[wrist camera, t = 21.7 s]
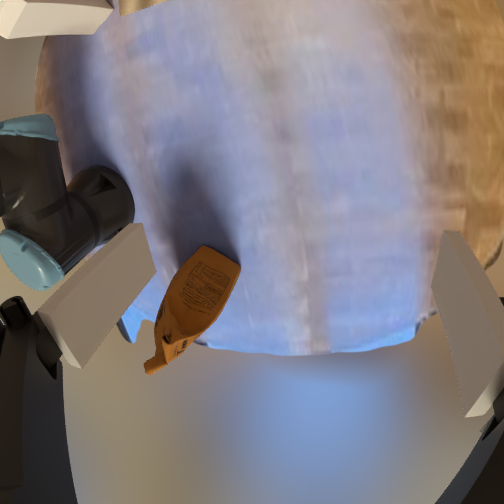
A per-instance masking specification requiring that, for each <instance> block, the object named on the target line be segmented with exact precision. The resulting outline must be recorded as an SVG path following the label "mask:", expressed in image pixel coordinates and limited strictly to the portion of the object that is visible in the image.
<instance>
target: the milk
mask: <svg viewBox="0 0 504 504" xmlns="http://www.w3.org/2000/svg"><path fill="white" fill-rule="evenodd" d="M113 10H114V9H113V8H112V7H111V6H110V5H109V4H108V3H107V2H106V1H105V0H0V35H1V36H2V37H4V38H6V39H11V38H20V37H30V36H44V35H71V34H87V35H93V34H94V33H95V32H96V31H97V29H98V28H99V27H100V26H101V24H102V23H103V22H104V21H105V19H106V18H107V17H108V16H109V15H110V13H111V12H112V11H113Z"/></svg>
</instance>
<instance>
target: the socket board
mask: <svg viewBox="0 0 504 504" xmlns="http://www.w3.org/2000/svg"><path fill="white" fill-rule="evenodd" d="M165 1H168V0H119V10H120V15H121V16H125V15H128V14H130V13H133V12H136V11H138V10H141V9H144V8H147V7H150V6H153V5H156V4H159V3H162V2H165Z"/></svg>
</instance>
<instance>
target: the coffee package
mask: <svg viewBox="0 0 504 504" xmlns="http://www.w3.org/2000/svg"><path fill="white" fill-rule="evenodd" d="M240 271H241V268H240V266H239V265H238V264H236V263H234V262H233V261H231V260H230V259H228V258H227V257H225V256H223V255H222V254H220V253H218V252H217V251H216V250H214V249H212V248H209V247H206V246H204V245H203V246H201V247H200V248H199V249H198V250H197V251H196V252H195V253H194V254H193V255H192V256H191V258H189V259H188V260H187V261H186V262H185V263H184V264H183V265H182V266H181V267H180V269H179V270H178V271H177V273H176V274H175V276H174V277H173V279H172V281H171V283H170V285H169V287H168V289H167V291H166V294H165V296H164V298H163V301H162V303H161V305H160V308H159V311H158V314H157V318H156V322H155V328H154V336H155V344H156V353H155V356H154V357H152V358H151V359H149V360H147V361H146V362H145V363H144V368H145V373H146V374H148V375H151V374H153V373H154V372H156V371H157V370H159V369H161V368H163V367H164V366H166V365H167V364H168V363H169V362H170V361H172V360H174V359H175V358H177V357H178V356H179V355H180V354H182V353H183V352H184V350H185V349H186V348H187V346H189V345H190V344H191V343H192V342H193V341H194V340H195V339H197V338H198V337H199V336H200V335H201V334H202V333H203V332H204V331H205V330H206V329H207V328H209V327H210V326H211V325H212V324H213V323H214V322H215V321H216V319H217V318H218V316H219V315H220V313H221V312H222V310H223V308H224V306H225V304H226V302H227V300H228V298H229V296H230V294H231V292H232V290H233V288H234V286H235V284H236V282H237V280H238V277H239V274H240Z"/></svg>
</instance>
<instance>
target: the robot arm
mask: <svg viewBox="0 0 504 504" xmlns="http://www.w3.org/2000/svg"><path fill="white" fill-rule="evenodd" d="M58 142H59V139H58V138H57V136H56V131H55V126H54V121H53V119H52V118H51V117H50V116H49V115H47V114H36V115H29V116H23V117H18V118H13V119H9V120H5V121H2V122H0V217H2V220H3V223H4V226H5V229H4V230H2V231H1V233H0V253H1V256H2V258H3V259H4V261H5V263H6V265H7V266H8V267H9V269H10V270H11V271H12V272H13V274H14V275H15V276H16V277H17V278H18V279H19V280H20V281H21V282H23V283H24V284H25V285H27V286H28V287H30V288H32V289H34V290H38V291H46V290H48V289H50V288H51V287H52V286H53V285H55V284H56V283H57V282H59V281H60V280H62V279H63V278H64V276H65V275H66V274H67V273H68V272H69V271H70V270H71V269H72V268H73V267H74V266H76V265H77V264H78V263H79V262H80V261H81V260H82V259H83V258H84V257H85V256H86V255H87V254H88V253H90V252H91V251H92V250H93V249H94V248H95V247H97V246H100V245H103V244H105V245H104V246H103V247H102V248H101V249H100V250H99V251H98V252H97V253H96V254H94V255H93V256H92V257H91V258H90V259H89V260H88V261H87V262H86V263H85V264H84V265H83V266H82V267H81V268H79V269H78V270H77V271H76V272H75V273H74V274H73V275H72V276H71V277H70V278H69V279H68V280H67V281H66V282H65V283H64V284H63V285H62V286H61V287H60V288H59V289H58V290H57V291H56V292H55V293H54V294H53V295H52V296H51V297H50V298H49V299H48V300H47V301H46V302H45V303H44V304H43V305H42V306H41V307H40V308H39V309H38V310H37V311H36V312H35V313H34V314H33V315H31V313H30V311H29V309H28V308H27V306H26V304H25V302H24V300H23V298H22V297H21V296H14V297H12V298H9V299H8V300H6V301H5V302H4V303H2V304H1V305H0V318H1V319H2V321H3V322H4V324H5V325H3V323H2V322H1V320H0V504H78V503H77V498H76V494H75V489H74V483H73V478H72V472H71V467H70V459H69V452H68V445H67V437H66V428H65V427H66V426H65V415H64V400H63V374H62V373H63V371H62V370H63V369H62V368H63V367H62V362H61V361H60V359H59V358H60V357H61V355H62V354H63V355H64V356H65V358H66V360H67V361H68V363H69V364H70V365H73V366H75V367H78V368H81V369H83V368H84V366H85V365H86V364H87V362H88V361H89V359H90V358H91V356H92V355H93V354H94V352H95V351H96V350H97V348H98V347H99V346H100V344H101V343H102V341H103V340H104V339H105V338H106V336H107V335H108V333H109V332H110V331H111V330H112V328H113V327H114V326H115V324H116V323H117V322H118V320H119V319H120V318H121V316H122V315H123V314H124V313H125V311H126V310H127V309H128V307H129V306H130V305H131V304H132V302H133V301H134V300H135V298H136V297H137V296H138V295H139V293H140V292H141V291H142V290H143V288H144V287H145V286H146V285H147V283H148V282H149V281H150V280H151V278H152V277H153V276H154V275H155V273H156V269H155V265H154V262H153V259H152V255H151V252H150V248H149V245H148V241H147V238H146V234H145V231H144V227H143V223H133V220H134V213H135V210H134V202H133V198H132V195H131V193H130V191H129V189H128V187H127V185H126V183H125V182H124V181H123V179H122V178H121V177H120V176H119V175H118V174H117V173H115V172H114V171H113V170H111V169H109V168H107V167H104V166H99V165H95V166H91V167H88V168H86V169H84V170H82V171H81V172H79V173H78V174H77V175H76V176H75V177H74V178H73V180H72V181H71V182H70V183H69V185H68V186H67V187H66V183H65V178H64V173H63V168H62V163H61V157H60V152H59V146H58ZM106 243H107V244H106ZM431 288H432V291H433V294H434V297H435V300H436V303H437V306H438V309H439V312H440V316H441V319H442V322H443V326H444V329H445V333H446V336H447V340H448V344H449V348H450V352H451V355H452V359H453V364H454V368H455V372H456V377H457V382H458V386H459V391H460V397H461V402H462V407H463V414H464V417H472V416H479V415H484V414H485V413H486V411H487V410H488V409H489V408H490V407H491V405H492V404H493V408H494V413H495V414H494V415H493V416H492V418H491V419H490V420H489V421H488V422H487V423H486V425H485V426H484V427H483V428H482V429H481V430H480V432H483V431H484V432H483V433H482V435H481V437H480V439H479V440H478V442H477V444H476V445H475V447H474V449H473V450H472V452H471V454H470V455H469V457H468V458H467V460H466V462H465V463H464V465H463V466H462V468H461V469H460V471H459V472H458V473H457V475H456V476H455V478H454V479H453V480H452V482H451V483H450V485H449V486H448V487H447V489H446V490H445V491H444V493H443V494H442V495H441V497H440V498H439V499H438V500H437V502H436V503H435V504H504V297H498V295H497V293H496V291H495V289H494V287H493V285H492V284H491V282H490V280H489V278H488V276H487V275H486V273H485V271H484V269H483V268H482V266H481V264H480V263H479V261H478V259H477V258H476V256H475V254H474V253H473V251H472V250H471V248H470V246H469V245H468V243H467V242H466V240H465V239H464V237H463V236H462V234H461V232H460V231H451V230H443V235H442V240H441V245H440V250H439V255H438V259H437V264H436V268H435V272H434V276H433V280H432V284H431Z"/></svg>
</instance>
